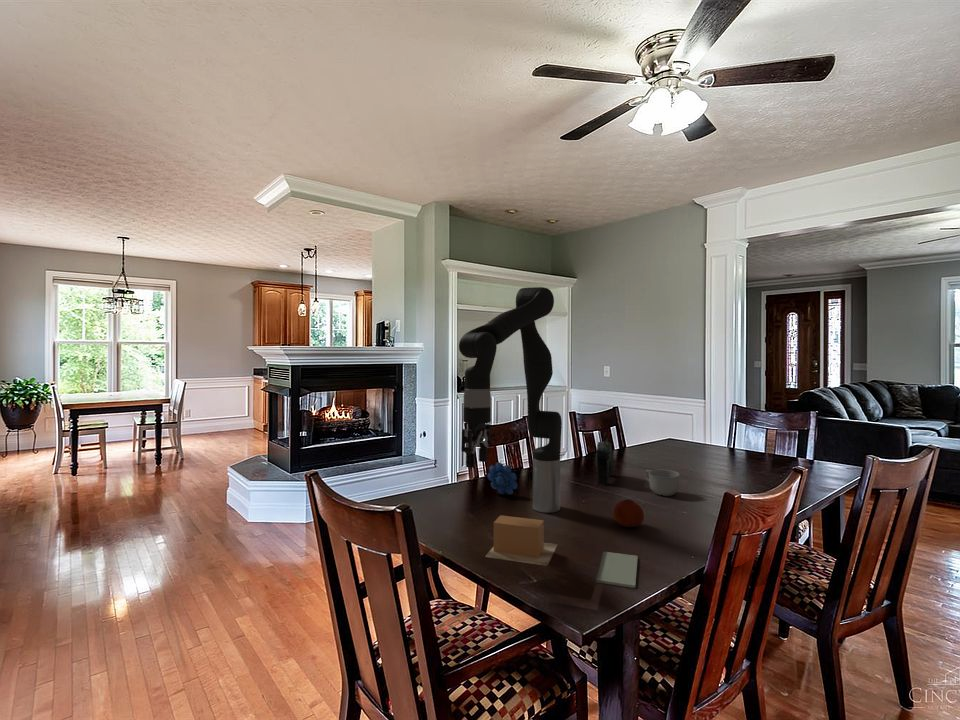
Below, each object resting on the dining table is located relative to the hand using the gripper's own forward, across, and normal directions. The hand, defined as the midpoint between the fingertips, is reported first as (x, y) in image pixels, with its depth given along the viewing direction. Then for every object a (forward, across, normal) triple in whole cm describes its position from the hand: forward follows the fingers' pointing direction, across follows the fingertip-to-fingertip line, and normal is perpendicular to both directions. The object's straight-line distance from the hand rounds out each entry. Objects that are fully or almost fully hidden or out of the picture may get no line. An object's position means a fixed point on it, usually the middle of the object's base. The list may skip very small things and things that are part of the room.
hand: (476, 464), depth 135 cm
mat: (+23, -1, +32) cm, 39 cm away
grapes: (+22, -48, -11) cm, 54 cm away
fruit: (+22, -34, +36) cm, 54 cm away
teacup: (+21, -75, +43) cm, 89 cm away
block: (+21, 0, +12) cm, 25 cm away
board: (+23, 0, +14) cm, 26 cm away
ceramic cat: (+21, -86, +20) cm, 90 cm away
